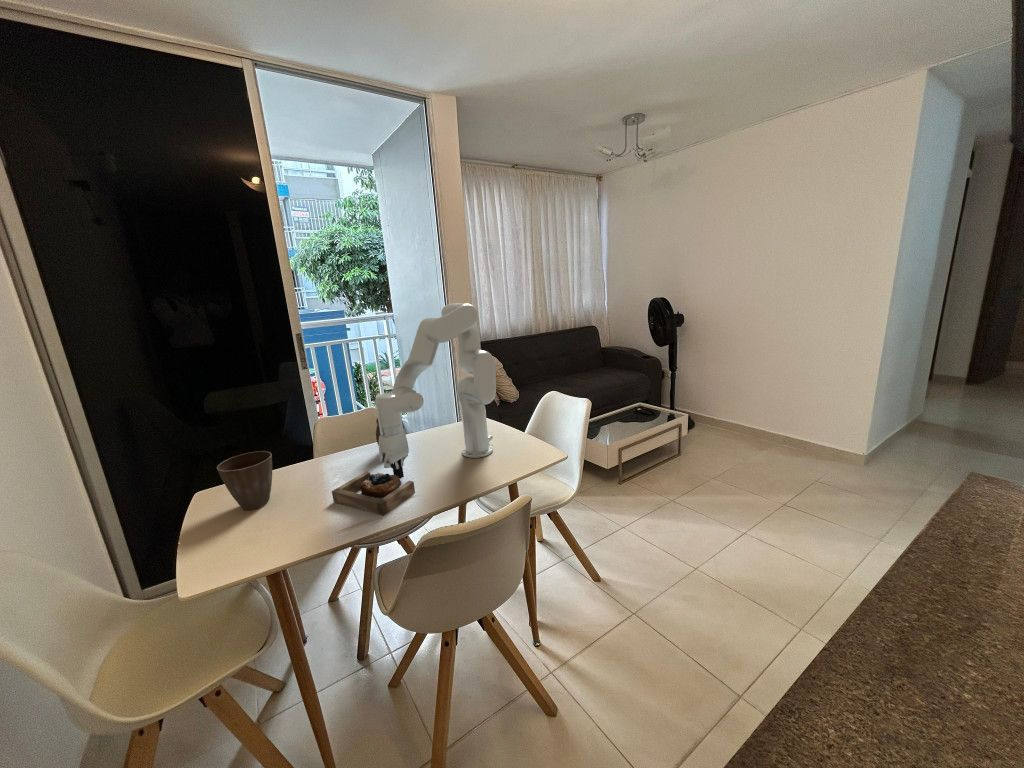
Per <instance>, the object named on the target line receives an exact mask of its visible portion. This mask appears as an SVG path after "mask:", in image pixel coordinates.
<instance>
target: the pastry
mask: <svg viewBox="0 0 1024 768" xmlns="http://www.w3.org/2000/svg"><path fill="white" fill-rule="evenodd" d="M400 486H402V481H401V479H400V477H399V476H397V475H394V474H389V473H382V472H381V473H380V472H377V473H374V474H373V473H372V474H371V473H370V476H369V478H368V479H367V480H365V481H364V482H362V484H361V488H360V490H359V491H360V492H361V493H360V494H362V495H366V496H370V497H374V498H378V499H383V498H384V497H386V496H387V495H389V494H390V493H391V492H393V491H394V490H396V489H397V488H399V487H400Z"/></svg>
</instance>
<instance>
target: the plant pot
mask: <svg viewBox="0 0 1024 768" xmlns="http://www.w3.org/2000/svg"><path fill="white" fill-rule="evenodd" d="M216 469H217V472H218V474H219V477H220V478H221V481H222V482H223V484H224V486H225V487H226V490H228V492H229V494H230V495H231V496H232V498H233V499H234V500H235V502H236V503H237V504H238V505H239V506H240V507H241V509H243V510H244V511H252V510H251V509H254V510H257V509H260V508H262V507H264V506H266V505H267V504H268V503H269V502H268V501H270V497H271V493H272V492H271V491H272V483H273V455H272V452H271V451H266V450H262V451H261V450H259V451H251V452H247V453H246V452H245V453H242V454H239V455H235V456H232V457H230V458H228V459H225V460H223V461H222V462H220V463H219V464H218V465H216ZM267 502H268V503H267ZM266 503H267V504H266ZM265 504H266V505H265ZM263 505H264V506H263ZM261 506H262V507H261ZM259 507H260V508H259ZM256 508H257V509H256Z"/></svg>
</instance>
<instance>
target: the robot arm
mask: <svg viewBox="0 0 1024 768" xmlns="http://www.w3.org/2000/svg"><path fill="white" fill-rule="evenodd" d="M478 317H479V313H478V310H477V308H476V306H474V305H473V304H470V303H466V302H465V303H457V302H456V303H449V304H446V305H444V306H443V307H442V309H441V316H440V317H426V318H424V319H422V320H421V321H420V323H419V325H418V328H417V330H416V333H415V337H414V340H413V343H412V347H411V349H410V353H409V356H408V358H407V359H406V360H405V362H404V363H403V365H402V367H401V368H400V369H399V371H398V373H397V375H396V377H395V380H394V383H393V386H392V390H391V393H382V394H379V395H378V396H376V398H375V407H376V414H377V418H378V421H379V427H380V433H381V435H380V436H379V446H378V454H379V461H380V463H383V468H385V469H392V473H393V474H392V475H397V476H399V477H400V480H402V479H403V478H404V477H405V476H404V469H403V466H404V465H405V463H404V462H405V459H406V458H407V457H409V453H410V452H409V451H410V448H409V443H408V439H407V438H408V437H407V434H406V432H405V430H404V429H403V427H404V421H402V414H405V413H407V414H408V413H415V412H416V411H419V410H420V409H421V408H422V407H423V405H424V402H425V401H424V400H425V399H424V397H423V395H422V394H421V393H420V392H419V391H416V390H414V385H415V383H416V381H417V380H418V378H419V376H420V375H421V374H422V373H423V372H425V371H426V370H428V369H429V368H431V367H432V366H433V363H434V361H435V358H436V354H437V351H438V348H439V345H440V344H445V343H446V342H447V343H448V342H450V341H451V340H453V339H455V338H457V347H458V348H457V349H458V365H459V367H460V368H459V369H461V371H462V372H465V373H467V374H471V375H466V376H464V377H462V378H460V380H459V381H458V383H457V386H456V393H457V396H458V401H459V404H460V411H461V418H462V427H463V428H462V429H463V436H464V437H463V438H464V447H463V448H462V449H461V454H462V456H464V457H466V458H471V459H479V458H484V457H487V456H489V455H490V454H492V453H493V451H494V448H493V446H492V444H490V441H492V440H493V438H494V437H493V435H491V434H488V423H487V411H486V406H485V405H488V404H491V403H492V402H493V401H494V399H495V397H496V393H497V371H496V369H497V368H496V362H495V361H496V360H495V359H494V357H493V355H492V354H491V353H490V352H489V351H488V350H487V351H486V350H482V348H481V347H482V346H481V336H480V335H481V334H480V332H479V329H478V326H477V325H476V324H477V322H478V319H479V318H478ZM402 424H403V426H402Z"/></svg>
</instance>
